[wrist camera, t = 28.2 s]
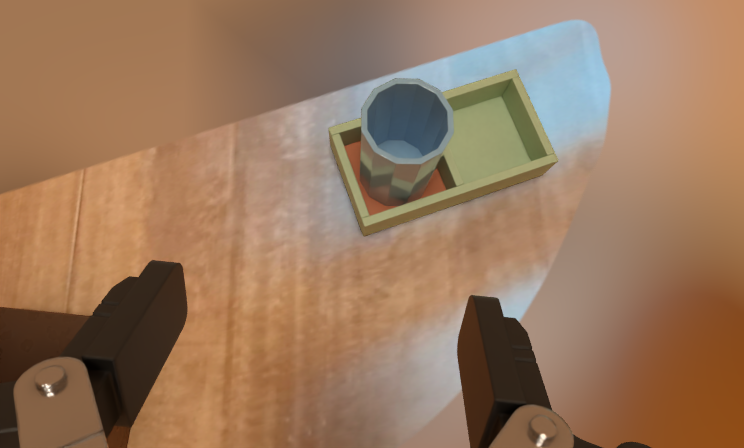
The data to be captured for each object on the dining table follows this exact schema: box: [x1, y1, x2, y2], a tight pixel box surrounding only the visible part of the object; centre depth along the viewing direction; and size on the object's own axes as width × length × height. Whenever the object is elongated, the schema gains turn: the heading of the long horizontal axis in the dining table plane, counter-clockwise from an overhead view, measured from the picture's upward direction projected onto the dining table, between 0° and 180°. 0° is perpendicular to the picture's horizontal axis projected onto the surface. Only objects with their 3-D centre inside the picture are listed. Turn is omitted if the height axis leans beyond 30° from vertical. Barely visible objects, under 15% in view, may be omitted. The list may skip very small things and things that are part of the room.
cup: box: [359, 78, 454, 206], centre depth 37 cm, size 6×6×10 cm
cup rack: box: [329, 69, 558, 236], centre depth 41 cm, size 9×16×4 cm, turn 110°
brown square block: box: [0, 307, 130, 448], centre depth 36 cm, size 10×10×4 cm
